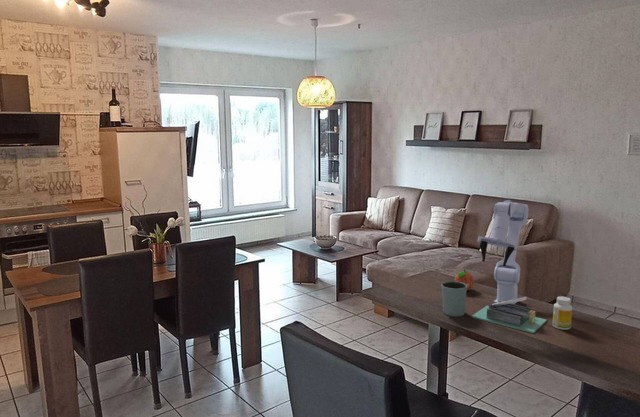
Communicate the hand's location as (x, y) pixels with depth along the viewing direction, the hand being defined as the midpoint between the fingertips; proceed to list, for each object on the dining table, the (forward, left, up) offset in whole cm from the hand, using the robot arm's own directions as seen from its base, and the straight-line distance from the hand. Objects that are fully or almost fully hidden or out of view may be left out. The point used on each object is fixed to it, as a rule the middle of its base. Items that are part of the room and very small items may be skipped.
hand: (493, 263), depth 185 cm
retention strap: (-8, +4, -17) cm, 19 cm away
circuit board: (-8, +4, -24) cm, 26 cm away
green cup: (-1, -16, -24) cm, 29 cm away
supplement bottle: (-14, +22, -24) cm, 35 cm away
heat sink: (-8, +5, -23) cm, 25 cm away
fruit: (-30, -25, -24) cm, 46 cm away
